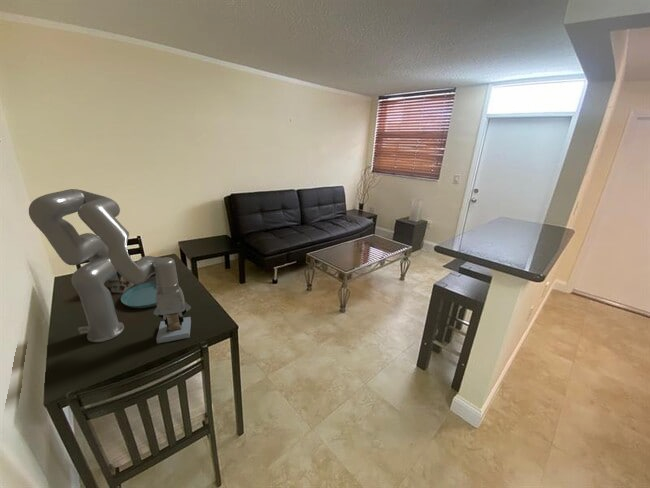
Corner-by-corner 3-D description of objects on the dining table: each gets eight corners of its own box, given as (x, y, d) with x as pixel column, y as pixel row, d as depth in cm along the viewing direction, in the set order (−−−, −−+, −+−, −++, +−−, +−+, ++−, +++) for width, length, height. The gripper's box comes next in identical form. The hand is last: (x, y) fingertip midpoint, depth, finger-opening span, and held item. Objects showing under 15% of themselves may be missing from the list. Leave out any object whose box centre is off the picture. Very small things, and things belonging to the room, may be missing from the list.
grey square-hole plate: (157, 343, 115) (156, 338, 114) (161, 326, 126) (160, 321, 125) (189, 337, 119) (188, 332, 119) (191, 321, 130) (190, 316, 129)
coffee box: (123, 293, 149) (116, 265, 144) (111, 292, 149) (104, 265, 144) (134, 284, 158) (128, 258, 152) (123, 284, 158) (116, 258, 152)
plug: (169, 333, 120) (166, 315, 117) (170, 327, 123) (167, 309, 120) (180, 331, 121) (177, 313, 118) (181, 325, 125) (178, 308, 122)
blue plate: (117, 296, 147) (115, 290, 146) (167, 282, 163) (166, 277, 162) (128, 317, 131) (126, 311, 130) (182, 299, 147) (181, 293, 146)
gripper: (142, 295, 109) (151, 333, 115) (190, 288, 115) (195, 325, 121) (146, 285, 115) (154, 322, 122) (191, 280, 121) (196, 316, 128)
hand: (174, 324), depth 121 cm, fingers closed on plug, 4 cm apart
